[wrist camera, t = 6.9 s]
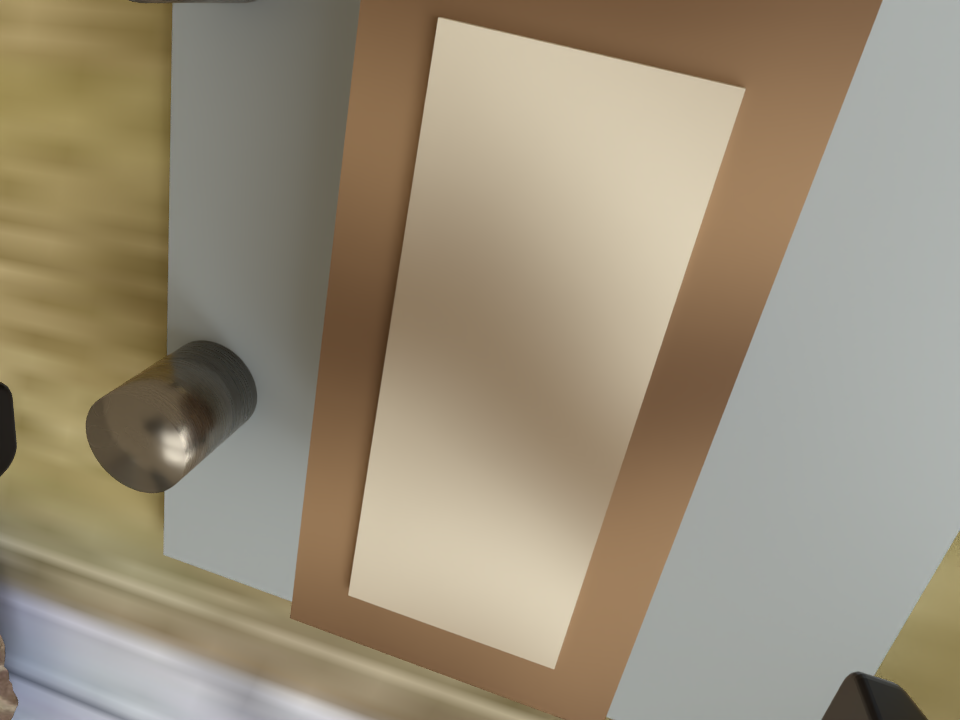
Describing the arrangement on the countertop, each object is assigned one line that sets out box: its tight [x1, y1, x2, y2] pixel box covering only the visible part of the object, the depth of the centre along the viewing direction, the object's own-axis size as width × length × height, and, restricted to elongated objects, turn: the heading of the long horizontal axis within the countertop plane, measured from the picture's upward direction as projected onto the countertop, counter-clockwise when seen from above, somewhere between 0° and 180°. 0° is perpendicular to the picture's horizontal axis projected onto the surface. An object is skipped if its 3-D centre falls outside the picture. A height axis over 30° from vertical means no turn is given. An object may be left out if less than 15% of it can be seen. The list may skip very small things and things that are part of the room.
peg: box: [86, 340, 257, 493], centre depth 18 cm, size 2×2×3 cm
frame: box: [290, 0, 883, 720], centre depth 14 cm, size 12×6×5 cm, turn 169°
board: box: [164, 0, 960, 720], centre depth 17 cm, size 22×18×1 cm
